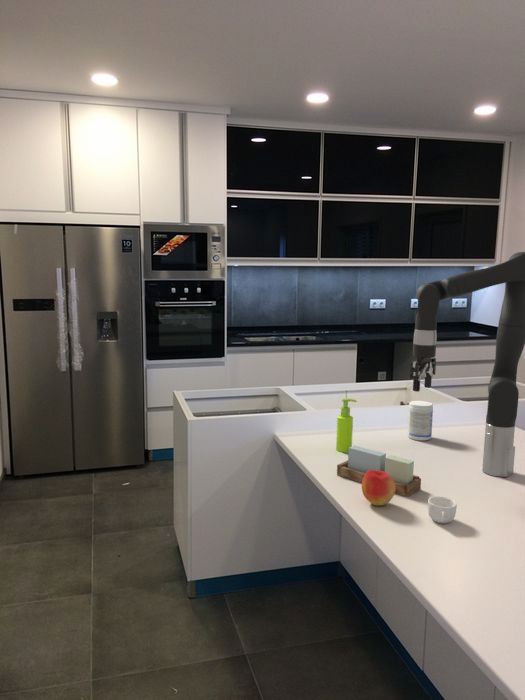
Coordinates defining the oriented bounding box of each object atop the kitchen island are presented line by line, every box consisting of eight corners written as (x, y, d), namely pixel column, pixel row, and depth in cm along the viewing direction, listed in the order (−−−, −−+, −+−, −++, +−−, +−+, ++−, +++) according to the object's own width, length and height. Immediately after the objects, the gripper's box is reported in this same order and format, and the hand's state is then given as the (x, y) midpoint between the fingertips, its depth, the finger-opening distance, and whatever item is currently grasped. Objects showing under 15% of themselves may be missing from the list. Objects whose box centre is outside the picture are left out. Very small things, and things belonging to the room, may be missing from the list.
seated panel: (412, 488, 179) (413, 461, 178) (406, 491, 177) (408, 463, 175) (389, 481, 185) (391, 455, 183) (384, 484, 182) (385, 457, 181)
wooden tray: (420, 489, 180) (421, 477, 180) (407, 497, 174) (408, 484, 173) (350, 468, 197) (351, 457, 197) (336, 475, 191) (337, 463, 191)
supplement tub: (435, 441, 231) (437, 405, 228) (412, 441, 229) (414, 406, 227) (425, 434, 240) (427, 400, 238) (403, 434, 239) (405, 400, 237)
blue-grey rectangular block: (384, 480, 186) (385, 453, 185) (378, 483, 183) (380, 456, 182) (353, 470, 194) (354, 445, 193) (347, 473, 191) (348, 447, 190)
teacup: (426, 512, 163) (427, 494, 162) (454, 515, 162) (455, 497, 161) (427, 528, 154) (429, 509, 153) (457, 531, 152) (458, 512, 151)
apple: (370, 512, 163) (371, 478, 161) (356, 498, 172) (357, 467, 170) (400, 508, 165) (401, 476, 164) (384, 496, 175) (386, 464, 173)
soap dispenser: (355, 452, 215) (357, 401, 212) (337, 452, 215) (338, 400, 212) (353, 447, 220) (355, 397, 217) (335, 447, 221) (337, 397, 218)
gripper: (425, 345, 186) (422, 394, 188) (444, 342, 196) (441, 388, 198) (404, 343, 191) (402, 390, 193) (424, 339, 201) (421, 384, 203)
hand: (422, 389), depth 196 cm, fingers open, 8 cm apart
